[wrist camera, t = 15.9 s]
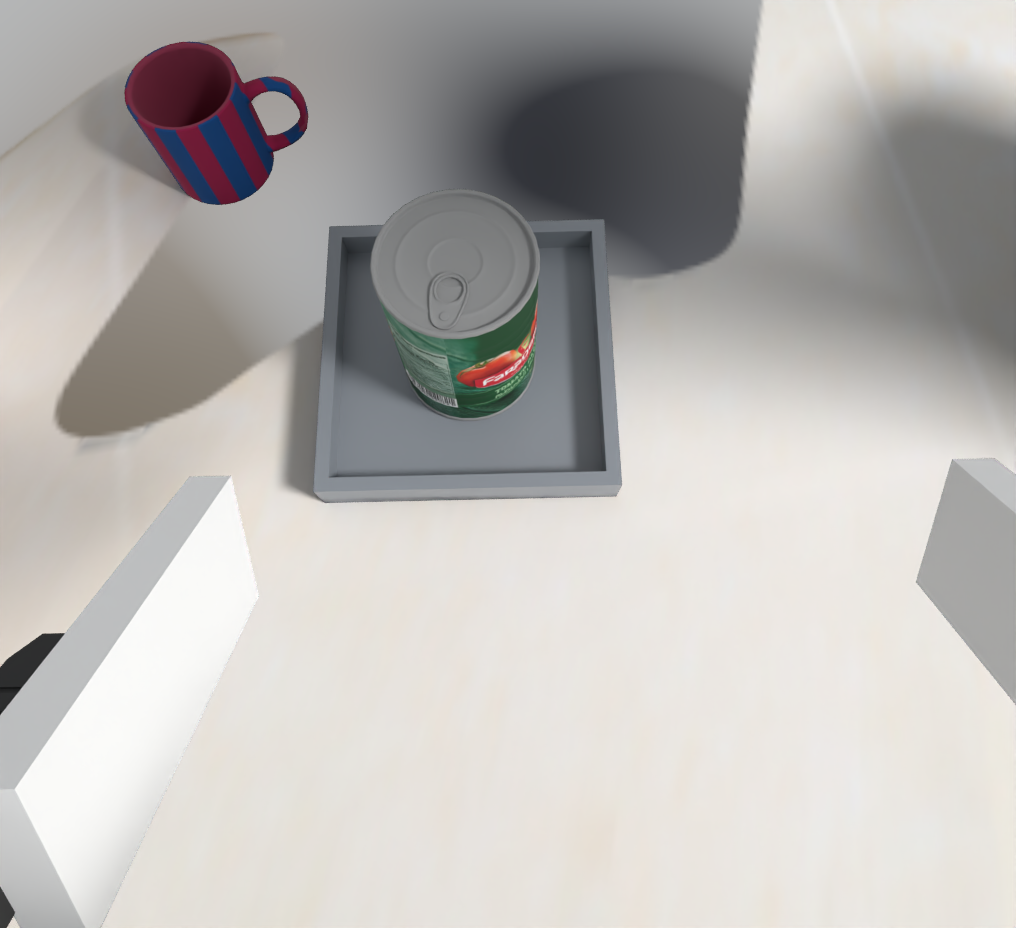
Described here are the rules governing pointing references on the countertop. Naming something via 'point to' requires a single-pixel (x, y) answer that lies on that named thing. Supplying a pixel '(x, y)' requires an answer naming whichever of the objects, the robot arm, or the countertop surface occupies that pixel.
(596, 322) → the tray
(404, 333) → the canned tomato
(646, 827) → the countertop surface
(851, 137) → the countertop surface
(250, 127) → the mug
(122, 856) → the robot arm
